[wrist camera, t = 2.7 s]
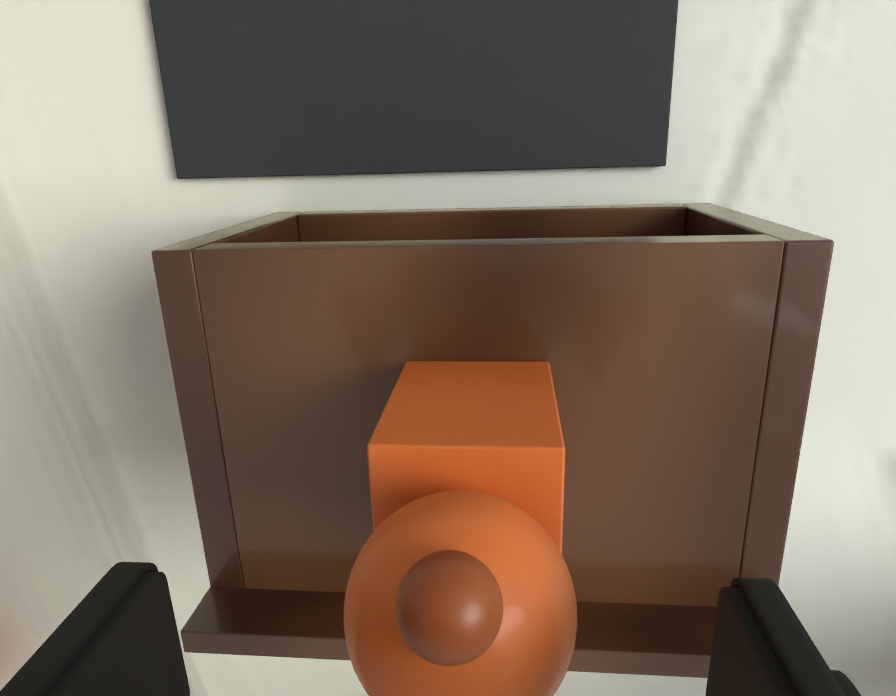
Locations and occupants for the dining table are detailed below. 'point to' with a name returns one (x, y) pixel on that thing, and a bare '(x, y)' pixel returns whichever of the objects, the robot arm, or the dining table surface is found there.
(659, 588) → the shelf
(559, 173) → the dining table surface
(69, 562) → the dining table surface
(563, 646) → the knobbed sphere on cube
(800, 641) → the robot arm
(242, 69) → the mat
